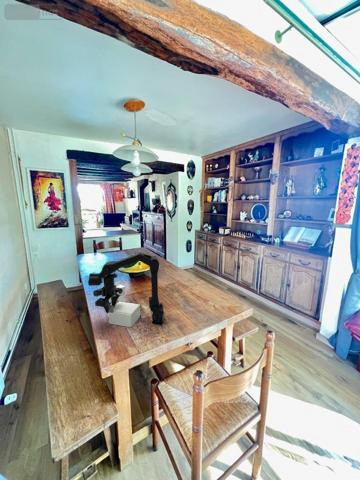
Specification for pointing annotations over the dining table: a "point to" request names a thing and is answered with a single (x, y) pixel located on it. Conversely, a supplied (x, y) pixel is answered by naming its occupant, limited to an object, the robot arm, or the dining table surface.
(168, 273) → the dining table surface
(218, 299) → the dining table surface
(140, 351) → the dining table surface
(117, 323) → the front flap
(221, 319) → the dining table surface
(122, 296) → the ink cartridge box
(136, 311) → the carton
